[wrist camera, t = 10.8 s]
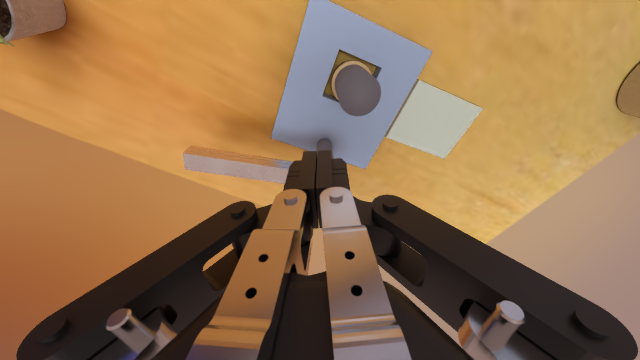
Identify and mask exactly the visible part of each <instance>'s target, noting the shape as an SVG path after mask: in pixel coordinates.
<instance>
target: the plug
mask: <svg viewBox="0 0 640 360" xmlns="http://www.w3.org/2000/svg"><path fill="white" fill-rule="evenodd" d="M331 85H332V90H333V93H334V95H335V97H336V98H337V99H338V100H339V103H340V106H341V107H342V109H343V110H344V111H345V112H346V113H347V114H349V115H352V116H364V115H366V114H368V113H370V112H371V111H373V110H374V109H375V107H376V106H377V105H378V103H379V101H380V97H381V88H380V84H379V82H378V81H377V79H376V78H375V77H374V76H373V75H372V74H371V72H370V70H369V68H368V67H367V66H366V65H364V64H363V63H361V62H359V61H345V62H343V63H341V64H340V65H339V66H338V67H337V68H336V69H335V71H334V74H333V77H332V83H331Z"/></svg>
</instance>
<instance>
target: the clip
mask: <svg viewBox="0 0 640 360" xmlns="http://www.w3.org/2000/svg"><path fill="white" fill-rule="evenodd" d="M183 158H184V165H185V169H186V170H192V171H199V172H206V173H213V174H220V175H227V176H234V177H241V178H248V179H255V180H262V181H269V182H276V183H283V184H285V181H286V178H287V174H288V170H289V166H290V165H291V164H292V163H293V162H291V161H285V160H278V159H272V158H266V157H259V156H253V155H246V154H240V153H234V152H227V151H221V150H215V149H208V148H202V147H196V146H190V147H189V148H188V149H187V150H186V151H185V152H183Z"/></svg>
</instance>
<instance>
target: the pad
mask: <svg viewBox="0 0 640 360" xmlns="http://www.w3.org/2000/svg"><path fill="white" fill-rule="evenodd" d="M482 110H483V108H481V107H478V106H476V105H474V104H472V103H470V102H467V101H465V100H463V99H461V98H458V97H456V96H454V95H452V94H450V93H447V92H445V91H443V90H441V89H438V88H436V87H434V86H432V85H430V84H427V83H425V82H423V81H421V80H418V79H417V81H416V82H415V84H414V86H413V88H412V89H411V91H410V93H409V95H408V96H407V98H406V100H405V102H404V103H403V105H402V107H401V109H400V110H399V112H398V114H397V116H396V117H395V119H394V121H393V123H392V124H391V126H390V128H389V130H388V131H387V133H386V135H385V136H386V138H389V139H392V140H395V141H397V142H400V143H403V144H405V145H408V146H411V147H413V148H416V149H419V150H422V151H424V152H427V153H430V154H432V155H435V156H438V157H440V158H443V159H445V157H446V156H447V155H448V154H449V152H450V151H451V150H452V148H453V147H454V146H455V144H456V143H457V142H458V141H459V139H460V138H461V137H462V135H463V134H464V133H465V132H466V130H467V129H468V128H469V126H470V125H471V124H472V122H473V121H474V120H475V119H476V117H477V116H478V115H479V113H480V112H481V111H482Z"/></svg>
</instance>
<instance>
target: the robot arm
mask: <svg viewBox="0 0 640 360" xmlns="http://www.w3.org/2000/svg"><path fill="white" fill-rule="evenodd" d="M617 104H618V107H619V109H620V110H621V111H622V112H624V113H626V114H629V115H633V116H636V117H640V63H639V64H638V65H637V66H636V68H635V69H634V70H633V71H632V72H631V73H630V74H629V76H628V77H627V78H626V80H625V81H624V83H623V85H622V87H621V88H620V91H619V94H618V99H617ZM318 225H320V228H322V229H323V239H324V251H325V262H326V271H325V272H322V273H318V274H314V275H309V276H308V269H309V262H310V255H311V249H312V236H313V228H318ZM403 242H404V243H403ZM231 243H232V245H233V248H234V249H233V250H232V251H230V252H229V253H228V254H226V255H225V256H224V257H222V258H221V259H220V260H218V261H217V262H216V263H214V264H213V265H212V266H210V267H209V268H208V269H206V270H205V271H202V270H203V266H204V264H205V263H206V262H207V261H208V260H209V259H211V258H212V257H213V256H215V255H216V254H217V253H219V252H220V251H221V250H223V249H224V248H225V247H227V246H228V245H230V244H231ZM406 244H407V245H406ZM409 246H410V247H411V248H410V247H409ZM412 248H413V249H414V250H413V249H412ZM416 251H417V252H416ZM419 253H420V254H421V255H420V254H419ZM378 265H380V266H381V267H382V268H383V269H384V270H385V271H386V272H388V273H389V274H390V275H391V276H392V277H394V278H395V279H396V280H397V281H398V282H399V283H401V284H402V285H403V286H404V287H405V288H407V289H408V290H409V291H410V292H411V293H412V294H414V295H415V296H416V297H417V298H418V299H419V300H421V301H422V302H423V303H424V304H425V305H426V306H428V307H429V308H430V309H431V310H432V311H433V312H435V313H436V314H437V315H438V316H439V317H440V318H442V319H443V320H444V321H445V322H446V323H448V324H449V325H450V326H451V327H452V328H453V329H455V330H456V331H457V332H458V337H459V341H460V344H461V346H462V348H461V347H460V346H459V345H458V344H457V343H456V342H455V341H454V340H453V339H452V338H451V337H450V336H449V335H447V334H446V333H445V332H444V331H443V330H442V329H441V328H440V327H439V326H438V325H437V324H436V323H435V322H433V321H432V320H431V319H430V318H429V317H428V316H427V315H426V314H425V313H424V312H423V311H422V310H421V309H420V308H418V307H417V306H416V305H415V304H414V303H413V302H412V301H411V300H410V299H409V298H408V297H407V296H406V295H404V294H403V293H402V292H401V291H400V290H398V289H397V288H395V287H394V286H392V285H390V284H389V283H387V282H384V281H383V280H382V277H381V273H380V270H379V267H378ZM637 354H638V348H637V344H636V342H635V340H634V338H633V336H632V335H631V333H630V332H629V331H628V329H627V328H626V327H625V326H624V325H623V324H622V323H621V322H620V321H619V320H618V319H617V318H615V317H614V316H613V315H611V314H610V313H609V312H607V311H606V310H604V309H603V308H601V307H599V306H598V305H596V304H594V303H592V302H591V301H589V300H587V299H585V298H583V297H581V296H579V295H578V294H576V293H574V292H572V291H570V290H569V289H567V288H565V287H563V286H561V285H559V284H557V283H556V282H554V281H552V280H550V279H548V278H546V277H545V276H543V275H541V274H539V273H537V272H536V271H534V270H532V269H530V268H528V267H526V266H524V265H523V264H521V263H519V262H517V261H515V260H514V259H512V258H510V257H508V256H506V255H504V254H502V253H501V252H499V251H497V250H495V249H493V248H491V247H490V246H488V245H486V244H484V243H482V242H481V241H479V240H477V239H475V238H473V237H471V236H470V235H468V234H466V233H464V232H462V231H460V230H459V229H457V228H455V227H453V226H451V225H449V224H448V223H446V222H444V221H442V220H440V219H438V218H437V217H435V216H433V215H431V214H429V213H427V212H426V211H424V210H422V209H420V208H418V207H416V206H415V205H413V204H411V203H409V202H407V201H405V200H404V199H402V198H400V197H397V196H394V195H382V196H378V197H377V198H375V199H374V200H373V202H372V203H371V202H365V201H362V200H359V199H357V198H355V197H354V196H353V195H352V193H351V192H350V186H349V180H348V174H347V167H346V162H345V161H344V160H343V159H342V158H336V159H332V158H331V150H320V151H318V155H317V151H304V152H303V158H302V160H301V161H294V162H293V163H292V164H291V165H290V166H289V170H288V174H287V178H286V181H285V185H284V189H283V191H282V192H280V193H279V194H278V195H277V196H276V197H275V199H274V201H273V204H271V205H268V206H265V207H261V208H257V209H256V207H255V205H254V204H253V203H251V202H249V201H240V202H236V203H233V204H231V205H229V206H227V207H226V208H224V209H223V210H221V211H219V212H218V213H216V214H214V215H213V216H211V217H210V218H208V219H206V220H205V221H203V222H201V223H200V224H198V225H197V226H195V227H194V228H192V229H190V230H188V231H187V232H185V233H183V234H182V235H180V236H179V237H177V238H175V239H174V240H172V241H171V242H169V243H167V244H166V245H164V246H162V247H161V248H159V249H158V250H156V251H154V252H153V253H151V254H149V255H148V256H146V257H144V258H143V259H141V260H140V261H138V262H137V263H135V264H133V265H131V266H130V267H128V268H127V269H125V270H123V271H122V272H120V273H118V274H117V275H115V276H114V277H112V278H110V279H109V280H107V281H106V282H104V283H102V284H101V285H99V286H97V287H96V288H94V289H92V290H91V291H89V292H87V293H86V294H84V295H83V296H81V297H80V298H78V299H76V300H75V301H73V302H71V303H70V304H68V305H66V306H65V307H63V308H61V309H60V310H58V311H57V312H55V313H53V314H52V315H50V316H49V317H47V318H46V319H44V320H43V321H42V322H41V323H40V324H38V325H37V326H36V327H35V328H34V329H33V330H32V331H31V332H30V333H29V334H28V335H27V336H26V337H25V339H24V340H23V341H22V343H21V345H20V346H19V348H18V351H17V355H16V356H17V360H634V359H635V358H636V356H637Z"/></svg>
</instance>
